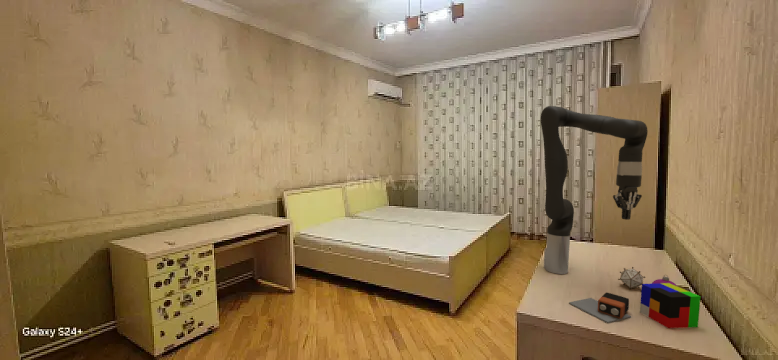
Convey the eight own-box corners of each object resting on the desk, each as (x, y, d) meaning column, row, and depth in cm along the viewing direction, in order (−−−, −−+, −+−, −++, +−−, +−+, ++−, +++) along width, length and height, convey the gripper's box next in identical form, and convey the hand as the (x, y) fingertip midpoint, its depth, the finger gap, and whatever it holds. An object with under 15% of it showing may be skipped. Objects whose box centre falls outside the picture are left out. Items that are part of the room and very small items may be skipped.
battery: (628, 310, 106) (620, 320, 100) (605, 303, 111) (596, 312, 105) (629, 298, 106) (621, 307, 99) (605, 291, 111) (597, 299, 104)
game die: (636, 298, 125) (655, 285, 118) (614, 289, 126) (631, 275, 120) (631, 280, 132) (648, 267, 125) (610, 272, 133) (626, 258, 127)
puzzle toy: (639, 312, 106) (641, 283, 105) (666, 311, 107) (669, 283, 106) (668, 328, 96) (670, 297, 96) (697, 327, 97) (700, 296, 96)
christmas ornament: (644, 298, 116) (646, 272, 116) (657, 294, 120) (659, 269, 119) (671, 308, 109) (673, 280, 108) (684, 304, 112) (686, 277, 111)
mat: (568, 303, 112) (568, 302, 112) (590, 299, 116) (590, 297, 116) (607, 323, 99) (607, 321, 99) (631, 317, 103) (631, 316, 102)
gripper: (630, 173, 123) (627, 216, 124) (606, 173, 119) (603, 218, 120) (651, 174, 116) (648, 220, 117) (627, 174, 112) (624, 222, 113)
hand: (625, 219), depth 119 cm, fingers closed
